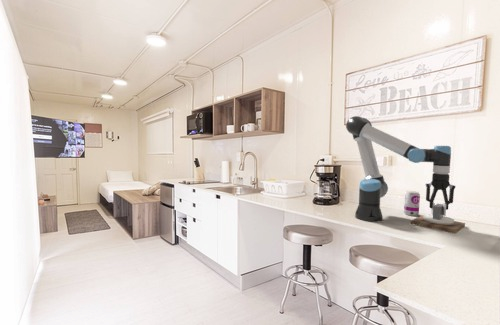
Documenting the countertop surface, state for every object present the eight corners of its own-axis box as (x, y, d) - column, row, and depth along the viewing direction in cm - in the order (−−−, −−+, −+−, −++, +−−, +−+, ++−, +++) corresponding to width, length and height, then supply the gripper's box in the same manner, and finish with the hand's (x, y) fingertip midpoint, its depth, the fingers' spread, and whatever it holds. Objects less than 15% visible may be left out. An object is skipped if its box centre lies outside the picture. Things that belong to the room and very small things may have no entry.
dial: (451, 226, 132) (452, 209, 131) (420, 220, 142) (421, 204, 141) (455, 221, 141) (456, 205, 141) (425, 216, 151) (426, 201, 151)
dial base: (410, 223, 143) (411, 220, 143) (423, 218, 156) (423, 214, 155) (455, 233, 128) (455, 229, 127) (464, 226, 140) (465, 222, 140)
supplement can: (421, 216, 160) (423, 193, 159) (408, 216, 160) (410, 192, 159) (413, 213, 168) (414, 190, 167) (401, 212, 168) (402, 190, 168)
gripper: (457, 173, 140) (455, 214, 141) (420, 171, 147) (418, 211, 148) (463, 174, 133) (460, 218, 134) (423, 172, 140) (421, 214, 141)
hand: (438, 214), depth 141 cm, fingers closed on dial, 5 cm apart
